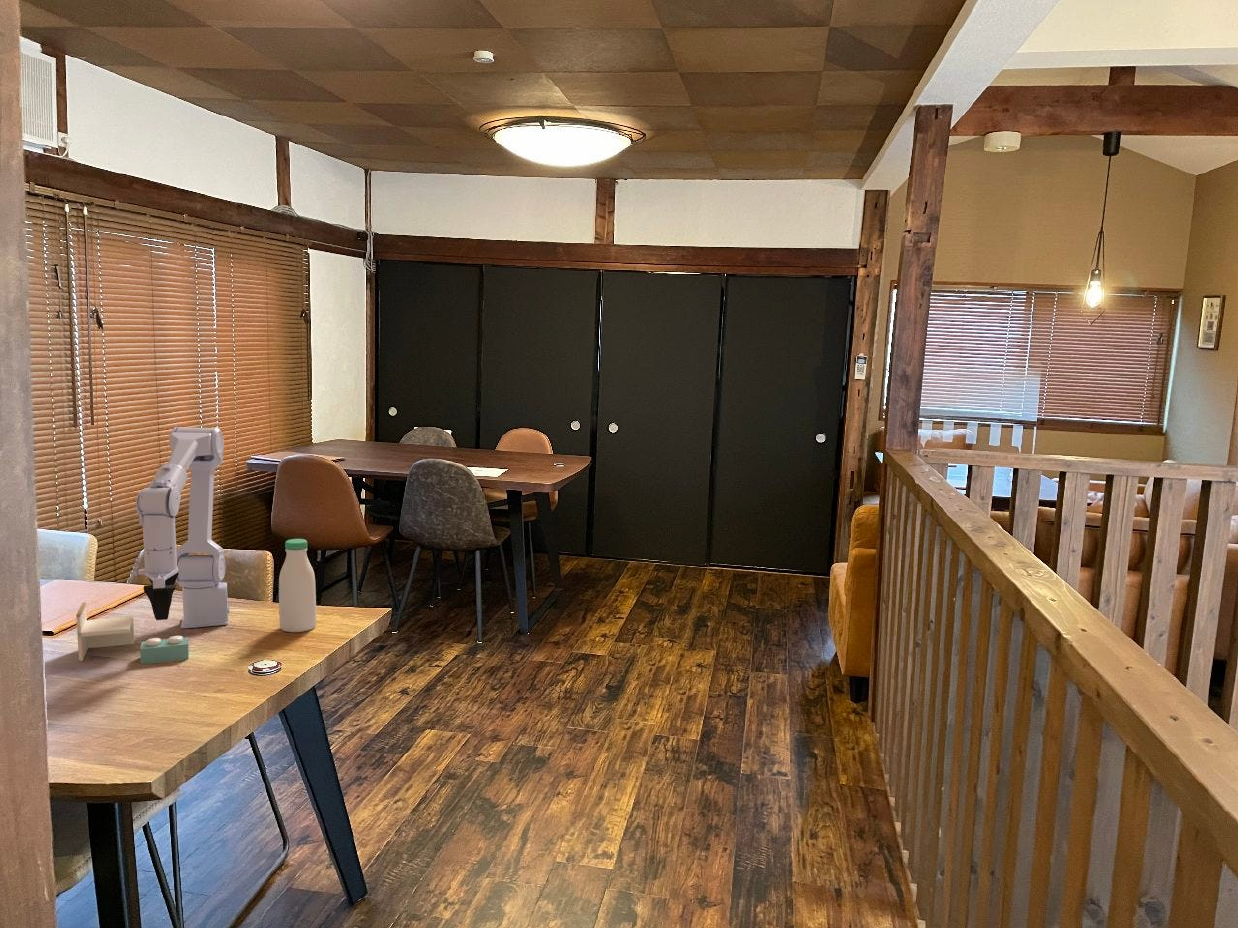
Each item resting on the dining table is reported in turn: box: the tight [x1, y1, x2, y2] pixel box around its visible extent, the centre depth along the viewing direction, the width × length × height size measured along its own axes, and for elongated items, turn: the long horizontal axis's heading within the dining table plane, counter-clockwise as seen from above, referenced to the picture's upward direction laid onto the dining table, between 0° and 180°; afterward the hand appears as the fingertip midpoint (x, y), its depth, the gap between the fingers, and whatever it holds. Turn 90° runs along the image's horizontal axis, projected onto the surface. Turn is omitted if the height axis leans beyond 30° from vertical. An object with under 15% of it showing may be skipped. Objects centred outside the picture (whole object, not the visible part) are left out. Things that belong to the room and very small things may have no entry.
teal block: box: [139, 635, 190, 665], centre depth 182 cm, size 8×4×4 cm, turn 114°
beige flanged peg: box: [75, 602, 135, 662], centre depth 183 cm, size 9×8×10 cm
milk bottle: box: [278, 538, 317, 633], centre depth 200 cm, size 8×8×20 cm
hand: (163, 613), depth 180 cm, fingers open, 7 cm apart
